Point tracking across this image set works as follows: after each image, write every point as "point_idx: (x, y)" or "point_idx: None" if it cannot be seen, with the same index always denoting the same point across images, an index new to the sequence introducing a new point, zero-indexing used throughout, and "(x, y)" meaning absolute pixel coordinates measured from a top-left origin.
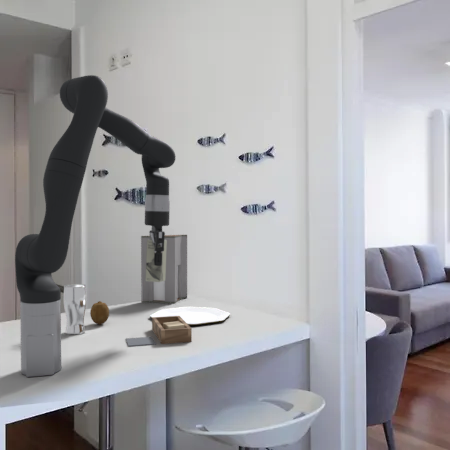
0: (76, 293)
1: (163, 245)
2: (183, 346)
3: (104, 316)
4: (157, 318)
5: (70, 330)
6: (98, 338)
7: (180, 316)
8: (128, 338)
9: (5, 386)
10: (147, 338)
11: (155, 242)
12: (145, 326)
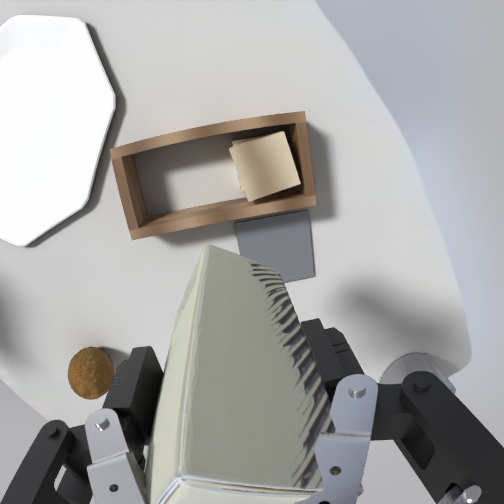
0: None
1: (461, 406)
2: (336, 140)
3: (105, 359)
4: (138, 221)
5: None
6: None
7: (2, 157)
8: None
9: None
10: (253, 235)
11: (424, 478)
12: (105, 248)
